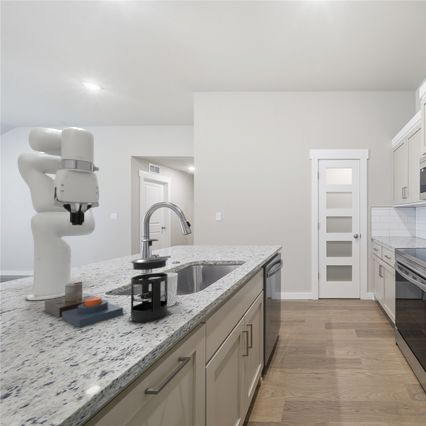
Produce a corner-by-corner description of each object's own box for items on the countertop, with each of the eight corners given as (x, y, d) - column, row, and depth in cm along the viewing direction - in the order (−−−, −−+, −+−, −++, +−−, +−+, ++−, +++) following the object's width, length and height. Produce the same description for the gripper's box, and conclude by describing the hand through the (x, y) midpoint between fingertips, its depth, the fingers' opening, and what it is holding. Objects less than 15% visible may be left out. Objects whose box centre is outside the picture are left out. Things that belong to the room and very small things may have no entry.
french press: (125, 316, 75) (126, 239, 75) (161, 308, 82) (161, 237, 82) (136, 328, 67) (137, 241, 67) (175, 317, 74) (175, 239, 74)
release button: (82, 305, 74) (82, 299, 74) (98, 302, 77) (98, 296, 77) (88, 307, 72) (88, 301, 72) (103, 304, 75) (103, 298, 75)
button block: (61, 319, 73) (62, 305, 73) (104, 308, 82) (104, 295, 82) (79, 328, 67) (79, 313, 67) (123, 315, 76) (123, 301, 76)
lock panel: (44, 310, 80) (44, 300, 80) (85, 301, 88) (85, 292, 88) (59, 318, 74) (59, 307, 74) (101, 307, 83) (101, 297, 83)
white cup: (157, 311, 79) (157, 279, 79) (145, 306, 83) (145, 276, 84) (182, 303, 86) (182, 274, 86) (170, 299, 90) (170, 271, 90)
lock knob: (67, 302, 78) (67, 285, 79) (62, 300, 80) (63, 283, 80) (84, 298, 82) (84, 282, 82) (79, 296, 84) (79, 280, 84)
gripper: (101, 172, 89) (100, 224, 89) (39, 165, 76) (39, 225, 76) (111, 170, 86) (111, 224, 85) (48, 162, 72) (48, 226, 72)
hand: (77, 225), depth 81 cm, fingers closed
